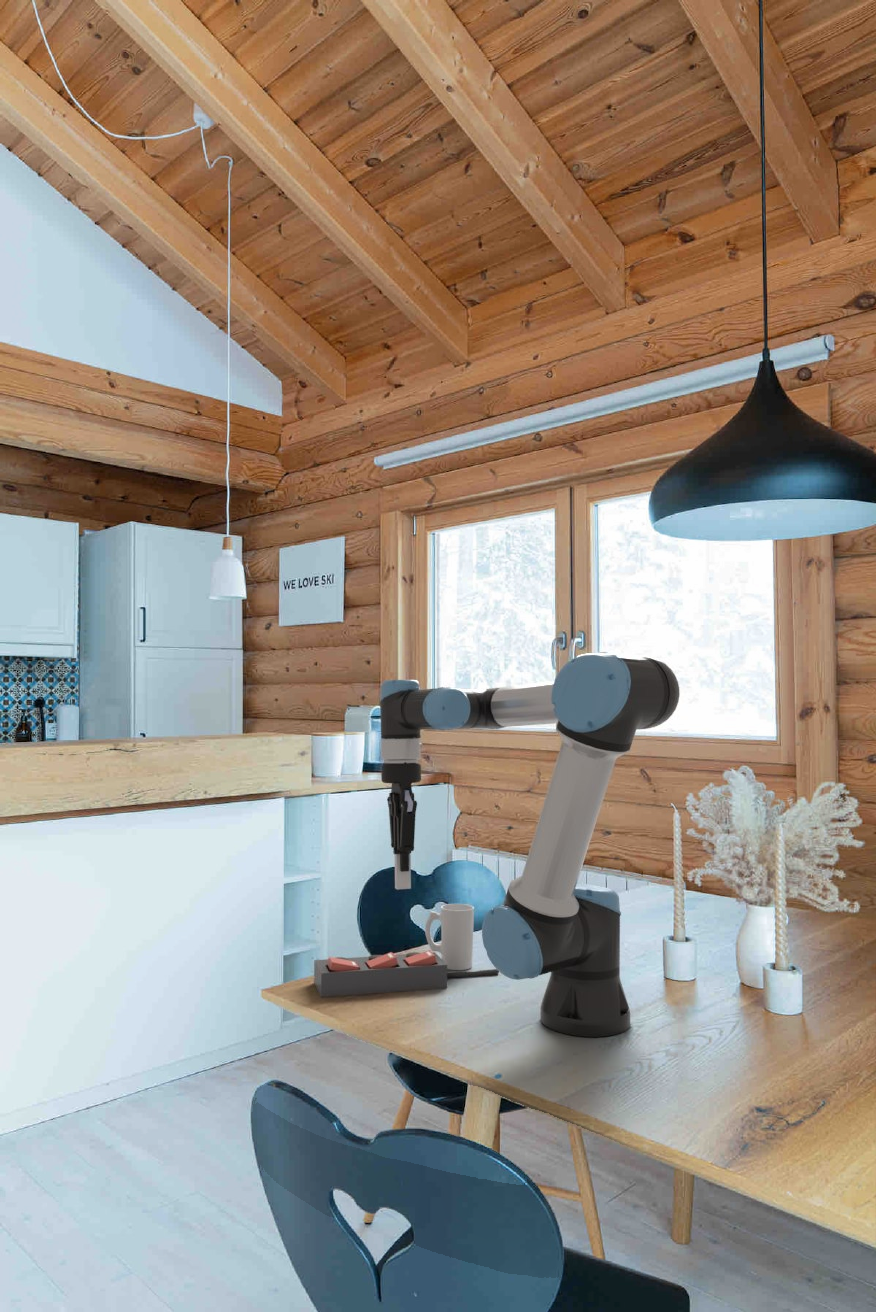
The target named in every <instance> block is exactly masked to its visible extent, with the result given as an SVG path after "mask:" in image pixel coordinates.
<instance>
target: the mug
mask: <svg viewBox="0 0 876 1312" xmlns="http://www.w3.org/2000/svg"><path fill="white" fill-rule="evenodd" d="M474 909H475V906H473V905H471V904H467V903H466V904H465V903H447V904H444V905H441V906H440V913H439V912H437V911H434V910H433V911H432V910H431V911H430V913H429V915H428V917H427V920H426V923H425V927H424V930H425V931H424V933H425V937H426V941H427V944H428V946H429V949H430V951H431V952H436V953H439V954H440V955H441V959H442V960H443V961H444V962H445V963H446V964H447V970H450V971H466V970H467V971H468V970H470V969H471V968H472V967H473V955H474V954H473V952H474V950H473V949H474V948H473V947H474V919H475V916H474V915H475V914H474ZM436 920H438V921H440V924H441V927H440V929H441V930H440V931H441V932H440V933H441V935H440V936H441V937H440V938H441V939H440V940H441V943H439V944H438V943H435V942H434V940H433V937H432V935H431V926H432V924H433V922H434V921H436Z"/></svg>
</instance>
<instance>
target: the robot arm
mask: <svg viewBox="0 0 876 1312" xmlns="http://www.w3.org/2000/svg"><path fill="white" fill-rule="evenodd" d="M558 671H559V672H558V673H557V675H556V676H555V679H554V680H552V681H544V682H538V683H537V682H535V683H526V684H517V685H511V686H509V685H508V686H502V687H491V688H481V689H479V688H473V689H471V688H457V687H450V686H448V687H447V686H446V687H443V686H441V687H437V688H436V687H435V688H426V689H421V688H420V687H421V685H420V682H419V681H418V680H416V679H388V680H384V681H383V682H382V683H381V685H380V698H379V709H380V735H381V736H380V737H381V738H380V759H381V760H382V761H383V763H382V764H381V766H380V767H381V768H380V769H381V782H382V783H384V784H391V789H390V791H391V792H389V793H388V796H387V800H386V801H387V805H388V817H389V829H390V831H389V832H390V845H391V848H392V849H393V852H392V853H393V855H394V889H395V890H407V889H408V890H410V889H412V875H411V874H412V871H411V870H412V869H411V862H412V861H411V860H412V859H411V857H412V856H411V854H412V852H414V850H415V834H416V833H415V830H416V816H417V815H416V814H417V808H418V801H417V800H415V793H414V792H413V788H412V787H413V786H412V784H416V783H420V782H421V781H422V764H421V762H418V761H419V760H421V757H422V756H421V749H423V748H424V744H423V743H421V737H422V736H421V731H422V730H429V731H430V730H431V731H432V730H433V731H434V730H435V731H437V730H438V731H453V730H472V729H474V730H476V729H478V730H481V729H485V730H486V729H488V730H498V729H504V728H510V727H522V726H526V727H527V726H535V725H536V726H538V725H540V726H541V725H550V724H556V728H555V729H556V731H557V733H558V734H559V736H560V739H561V742H562V743H561V745H560V748H559V752H558V755H557V758H556V761H555V764H554V765H555V766H554V768H553V772H552V773H551V774H552V775H551V778H550V781H549V785H548V788H547V792H546V794H545V798H544V801H543V805H542V809H541V812H540V814H539V818H538V822H537V825H536V827H535V831H534V835H533V837H532V838H533V839H532V841H531V844H530V847H529V852H528V855H527V859H526V860H525V865H524V869H523V872H522V874H521V876H519V877H517V878H514V879H512V880H511V881H510V882H509V885H508V887H507V891H506V895H505V897H504V901H503V904H498V905H496V906H494V907H493V908H492V909H490V910H488V911H487V912H486V914H485V916H484V918H483V922H482V924H481V925H482V926H481V939H482V943H483V947H484V948H485V951H486V955H487V957H488V959H489V961H490V963H491V964H492V965H493V967H494V969H497V970H498V971H499V974H501V975H503V976H504V977H506V978H509V979H511V980H525V979H535V978H538V977H540V976H541V975H545V974H549V973H550V977H549V979H548V982H547V986H546V989H545V992H544V995H543V998H542V1001H541V1004H540V1019H539V1020H540V1022H541V1024H542V1025H544V1026H545V1027H547V1028H549V1029H551V1030H552V1031H555V1032H558V1033H562V1034H566V1035H570V1036H571V1035H572V1036H577V1037H587V1038H588V1037H590V1038H591V1037H597V1038H598V1037H608V1036H613V1035H618V1034H621V1033H623V1032H625V1031H627V1030H628V1029H629V1028H630V1026H631V1011H630V1010H631V1009H630V1007H629V1003H628V1001H627V997H626V994H625V991H624V988H623V984H622V981H621V978H620V977H621V975H620V970H621V969H620V968H621V966H620V965H621V962H620V961H621V954H620V953H621V950H620V949H621V915H622V912H621V909H620V896H619V894H618V893H617V892H616V891H615V890H613V889H611V888H609V887H605V886H599V885H594V884H587V883H581V882H580V883H578V881H579V877H580V875H581V871H582V868H583V866H584V862H585V859H586V856H587V852H588V849H589V846H590V842H591V840H592V836H593V833H594V830H595V828H596V827H595V826H596V824H597V820H598V817H599V815H600V812H601V808H602V805H603V802H604V799H605V796H606V792H607V789H608V786H609V782H610V780H611V777H612V774H613V772H614V771H613V769H614V767H615V764H616V761H617V759H618V758H619V757H621V756H623V755H626V754H628V753H629V752H630V750H631V747H632V744H633V741H634V738H635V734H636V732H637V730H646V729H651V728H655V727H658V726H660V725H662V724H663V723H665V722H666V721H668V720H669V719H670V718H671V717H672V716H673V714H674V712H675V711H676V710H677V707H678V705H679V701H680V685H679V681H678V679H677V676H676V674H675V672H674V671H673V670H672V669H671V668H670V667H669V666H668V665H667V664H666V662H664V661H661V660H660V659H658V658H656V657H654V656H653V657H652V656H649V655H643V654H642V655H640V654H639V655H634V654H633V655H631V654H621V653H620V654H619V653H609V652H606V651H603V652H602V651H600V652H599V651H598V652H593V653H583V654H580V655H577V656H575V657H574V658H572V659H570V660H569V661H568V662H566V663H565V664H564V665H563V666H562V668H560V670H558Z"/></svg>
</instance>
